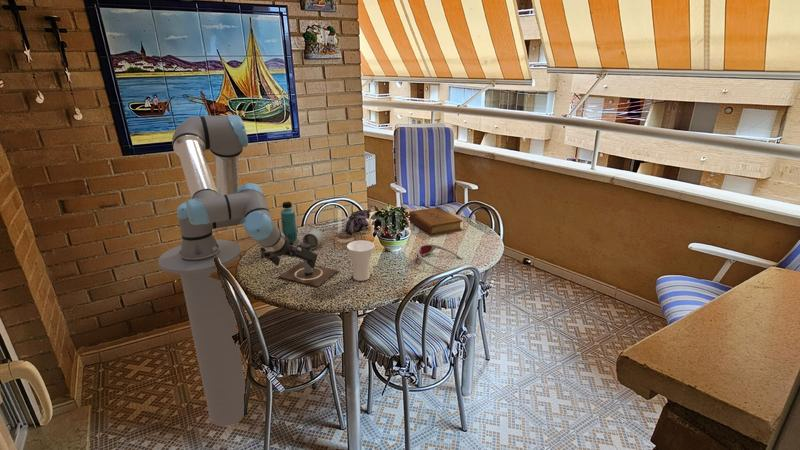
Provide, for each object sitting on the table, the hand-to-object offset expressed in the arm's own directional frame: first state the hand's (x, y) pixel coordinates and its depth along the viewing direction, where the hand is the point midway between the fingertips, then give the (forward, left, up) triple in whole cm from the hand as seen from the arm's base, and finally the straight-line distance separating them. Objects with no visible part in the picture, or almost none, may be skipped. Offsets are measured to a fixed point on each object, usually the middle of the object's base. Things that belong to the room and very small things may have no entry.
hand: (296, 263), depth 150 cm
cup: (+18, +17, -10) cm, 26 cm away
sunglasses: (+40, +43, -10) cm, 59 cm away
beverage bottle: (-29, +33, -10) cm, 45 cm away
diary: (+25, +83, -10) cm, 87 cm away
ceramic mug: (-18, +34, -10) cm, 39 cm away
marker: (-2, +9, -9) cm, 13 cm away
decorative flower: (-8, +61, -10) cm, 62 cm away
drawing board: (-2, +10, -10) cm, 14 cm away
